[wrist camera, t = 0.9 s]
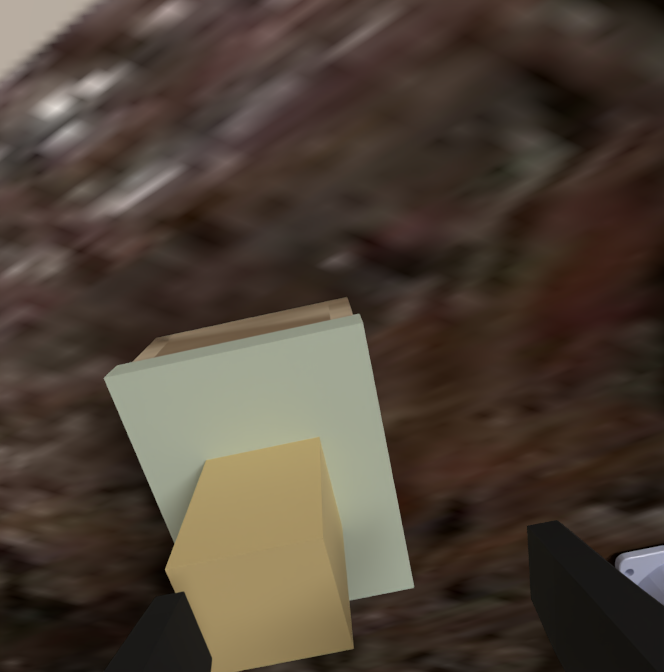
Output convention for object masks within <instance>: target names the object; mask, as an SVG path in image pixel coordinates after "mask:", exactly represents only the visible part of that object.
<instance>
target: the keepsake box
mask: <svg viewBox="0 0 664 672" xmlns="http://www.w3.org/2000/svg"><path fill="white" fill-rule="evenodd" d="M351 315H353V314H352V311H351V308H350V304H349V301H348V298H347V297H345V298H340V299H336V300H331V301H326V302H322V303H317V304H312V305H308V306H303V307H298V308H294V309H289V310H284V311H280V312H275V313H270V314H266V315H261V316H257V317H252V318H247V319H243V320H238V321H233V322H229V323H224V324H219V325H215V326H210V327H205V328H201V329H196V330H191V331H187V332H182V333H177V334H173V335H168V336H163V337H159V338H156V339H155V340H154V341H153V342H152V343H151V344H150V345H149V346H148V347H147V348H146V349H145V350H144V351H143V352H142V353H141V354H140V355H139V356H138V357H137V358H136V359H135V360H134V361H133V362H136V361H141V360H145V359H150V358H155V357H159V356H164V355H169V354H173V353H178V352H183V351H187V350H192V349H197V348H202V347H206V346H211V345H216V344H220V343H225V342H230V341H234V340H239V339H244V338H248V337H253V336H258V335H262V334H267V333H272V332H276V331H281V330H286V329H290V328H295V327H300V326H304V325H309V324H314V323H318V322H323V321H328V320H332V319H337V318H342V317H346V316H351Z"/></svg>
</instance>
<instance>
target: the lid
mask: <svg viewBox="0 0 664 672" xmlns="http://www.w3.org/2000/svg"><path fill="white" fill-rule="evenodd" d="M104 380H105V382H106V385H107V387H108V389H109V392H110V394H111V396H112V399H113V401H114V403H115V406H116V408H117V410H118V413H119V415H120V417H121V420H122V422H123V424H124V427H125V429H126V431H127V434H128V436H129V438H130V441H131V443H132V445H133V448H134V450H135V452H136V455H137V457H138V459H139V462H140V464H141V466H142V469H143V471H144V473H145V476H146V478H147V480H148V483H149V485H150V487H151V490H152V492H153V494H154V497H155V499H156V502H157V504H158V506H159V509H160V511H161V513H162V516H163V518H164V520H165V523H166V525H167V527H168V530H169V532H170V534H171V537H172V539H173V541H174V547H173V549H172V552H171V555H170V557H169V560H168V563H167V565H166V568H165V571H166V573H167V575H168V577H169V580H170V582H171V584H172V586H173V589H174V591H175V593H178V592H183V591H184V592H185V595H186V597H187V599H188V602H189V604H190V606H191V609H192V611H193V614H194V616H195V618H196V621H197V623H198V625H199V628H200V630H201V633H202V635H203V637H204V640H205V642H206V644H207V647H208V649H209V651H210V654H211V656H212V666H211V672H237V671H242V670H247V669H252V668H257V667H262V666H268V665H273V664H278V663H283V662H288V661H293V660H298V659H304V658H309V657H314V656H319V655H324V654H329V653H334V652H340V651H345V650H350V649H354V647H353V636H352V625H351V614H350V604H349V600H354V599H359V598H364V597H370V596H375V595H380V594H385V593H390V592H395V591H400V590H405V589H410V588H414V584H413V579H412V574H411V568H410V563H409V558H408V553H407V548H406V543H405V537H404V532H403V527H402V522H401V517H400V512H399V507H398V501H397V496H396V491H395V486H394V481H393V476H392V470H391V465H390V460H389V455H388V450H387V445H386V440H385V434H384V429H383V424H382V419H381V414H380V409H379V403H378V398H377V393H376V388H375V383H374V378H373V373H372V367H371V362H370V357H369V352H368V347H367V342H366V336H365V331H364V326H363V322H362V319H361V317H360V314H356V315H351V316H346V317H342V318H337V319H332V320H328V321H323V322H318V323H314V324H309V325H304V326H300V327H295V328H290V329H286V330H281V331H276V332H272V333H267V334H262V335H258V336H253V337H248V338H244V339H239V340H234V341H230V342H225V343H220V344H216V345H211V346H206V347H202V348H197V349H192V350H187V351H183V352H178V353H173V354H169V355H164V356H159V357H155V358H150V359H145V360H141V361H136V362H131V363H127V364H122V365H117V366H116V367H115V368H114V369H113V370H112V371H111V372H110V373H109V374H107V375H106V376H105V377H104Z"/></svg>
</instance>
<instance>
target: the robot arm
mask: <svg viewBox="0 0 664 672" xmlns="http://www.w3.org/2000/svg"><path fill="white" fill-rule="evenodd" d="M527 533H528V552H529V570H530V589H531V600H532V602H533V604H534V606H535V609H536V611H537V613H538V615H539V618H540V620H541V622H542V625H543V627H544V629H545V631H546V634H547V636H548V638H549V640H550V642H551V644H552V647H553V649H554V651H555V653H556V655H557V657H558V659H559V661H560V663H561V664H562V666H563V668H564V670H565V672H664V545H662V546H657V547H652V548H647V549H642V550H636V551H631V552H626V553H623V554H620V555H619V556H618V557H617V558H616V561H615V567H614V566H613V565H611V564H610V563H609V562H608V561H606V560H605V559H604V558H603V557H602V556H600V555H599V554H598V553H597V552H595V551H594V550H593V549H592V548H591V547H589V546H588V545H587V544H586V543H585V542H583V541H582V540H581V539H580V538H578V537H577V536H576V535H575V534H574V533H572V532H571V531H570V530H569V529H568V528H566V527H565V526H564V525H563V524H561V523H560V522H559V521H557V520H556V521H550V522H545V523H540V524H535V525H529V526H527ZM211 666H212V656H211V654H210V651H209V649H208V647H207V644H206V642H205V640H204V637H203V635H202V633H201V630H200V628H199V625H198V623H197V621H196V618H195V616H194V614H193V611H192V609H191V606H190V604H189V602H188V599H187V597H186V595H185V592H184V591H183V592H178V593H173V594H167V595H162V596H157V597H155V599H154V600H153V601H152V603H151V604H150V606H149V607H148V608H147V610H146V611H145V613H144V614H143V615H142V617H141V618H140V620H139V621H138V623H137V624H136V625H135V627H134V628H133V630H132V631H131V633H130V634H129V636H128V637H127V639H126V640H125V641H124V643H123V644H122V646H121V647H120V649H119V650H118V652H117V653H116V654H115V656H114V657H113V659H112V660H111V662H110V663H109V665H108V666H107V667H106V669H105V670H104V672H211Z"/></svg>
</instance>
